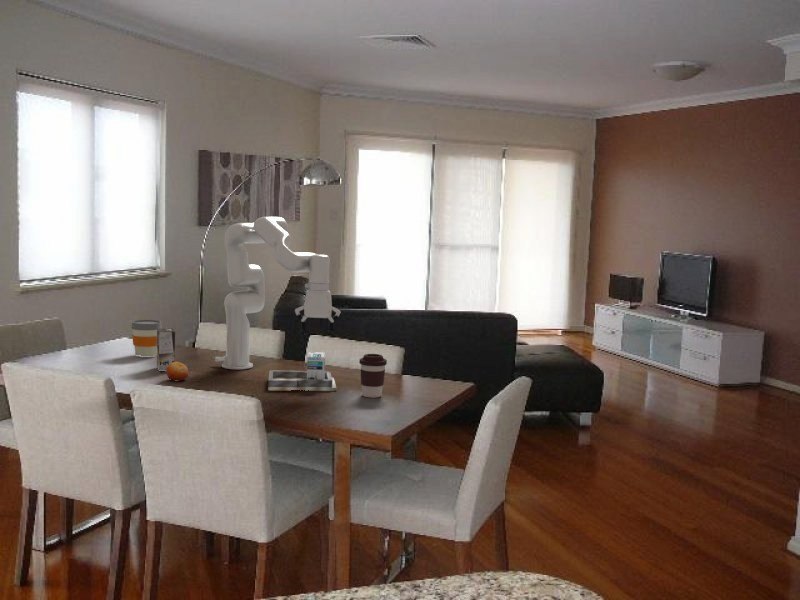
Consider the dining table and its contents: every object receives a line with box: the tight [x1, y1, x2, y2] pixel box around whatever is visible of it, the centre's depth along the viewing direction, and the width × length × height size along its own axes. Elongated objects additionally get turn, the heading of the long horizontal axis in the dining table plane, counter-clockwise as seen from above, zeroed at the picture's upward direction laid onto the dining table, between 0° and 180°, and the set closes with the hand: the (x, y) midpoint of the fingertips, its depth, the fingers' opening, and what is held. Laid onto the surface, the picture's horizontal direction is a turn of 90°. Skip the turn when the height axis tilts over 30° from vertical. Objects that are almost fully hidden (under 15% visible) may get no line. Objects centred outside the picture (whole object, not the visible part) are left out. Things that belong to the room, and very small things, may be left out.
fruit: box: [165, 361, 189, 381], centre depth 306 cm, size 8×8×8 cm
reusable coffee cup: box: [131, 319, 163, 356], centre depth 350 cm, size 13×12×15 cm
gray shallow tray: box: [267, 369, 337, 392], centre depth 307 cm, size 25×18×4 cm
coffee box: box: [156, 327, 176, 371], centre depth 324 cm, size 9×6×16 cm
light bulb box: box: [306, 351, 326, 380], centre depth 307 cm, size 11×7×11 cm, turn 4°
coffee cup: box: [359, 353, 388, 399], centre depth 294 cm, size 10×10×15 cm
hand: (317, 332), depth 306 cm, fingers open, 9 cm apart
